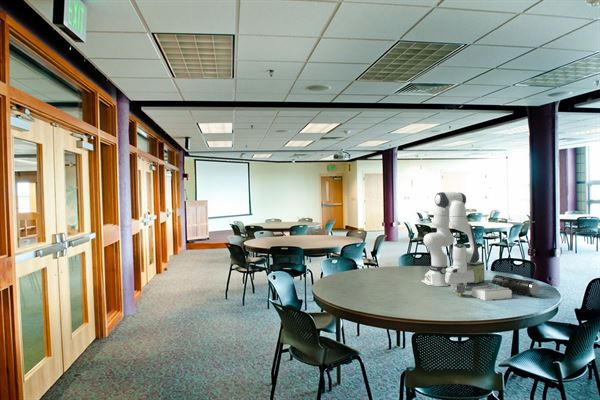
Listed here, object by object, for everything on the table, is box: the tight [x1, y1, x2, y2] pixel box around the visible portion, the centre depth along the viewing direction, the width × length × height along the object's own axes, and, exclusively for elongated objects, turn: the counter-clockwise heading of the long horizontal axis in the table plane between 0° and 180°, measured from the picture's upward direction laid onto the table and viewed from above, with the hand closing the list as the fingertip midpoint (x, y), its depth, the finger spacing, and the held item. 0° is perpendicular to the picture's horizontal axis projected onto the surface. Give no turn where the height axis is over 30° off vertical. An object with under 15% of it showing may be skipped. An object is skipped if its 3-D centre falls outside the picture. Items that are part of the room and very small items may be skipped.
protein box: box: [466, 260, 485, 286], centre depth 293 cm, size 10×16×16 cm
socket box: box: [471, 285, 513, 301], centre depth 250 cm, size 12×20×6 cm, turn 104°
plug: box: [455, 284, 466, 297], centre depth 256 cm, size 4×4×6 cm
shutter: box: [487, 282, 504, 289], centre depth 251 cm, size 7×8×3 cm
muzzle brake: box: [491, 274, 540, 297], centre depth 259 cm, size 10×28×10 cm, turn 25°
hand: (460, 289), depth 256 cm, fingers closed on plug, 4 cm apart
